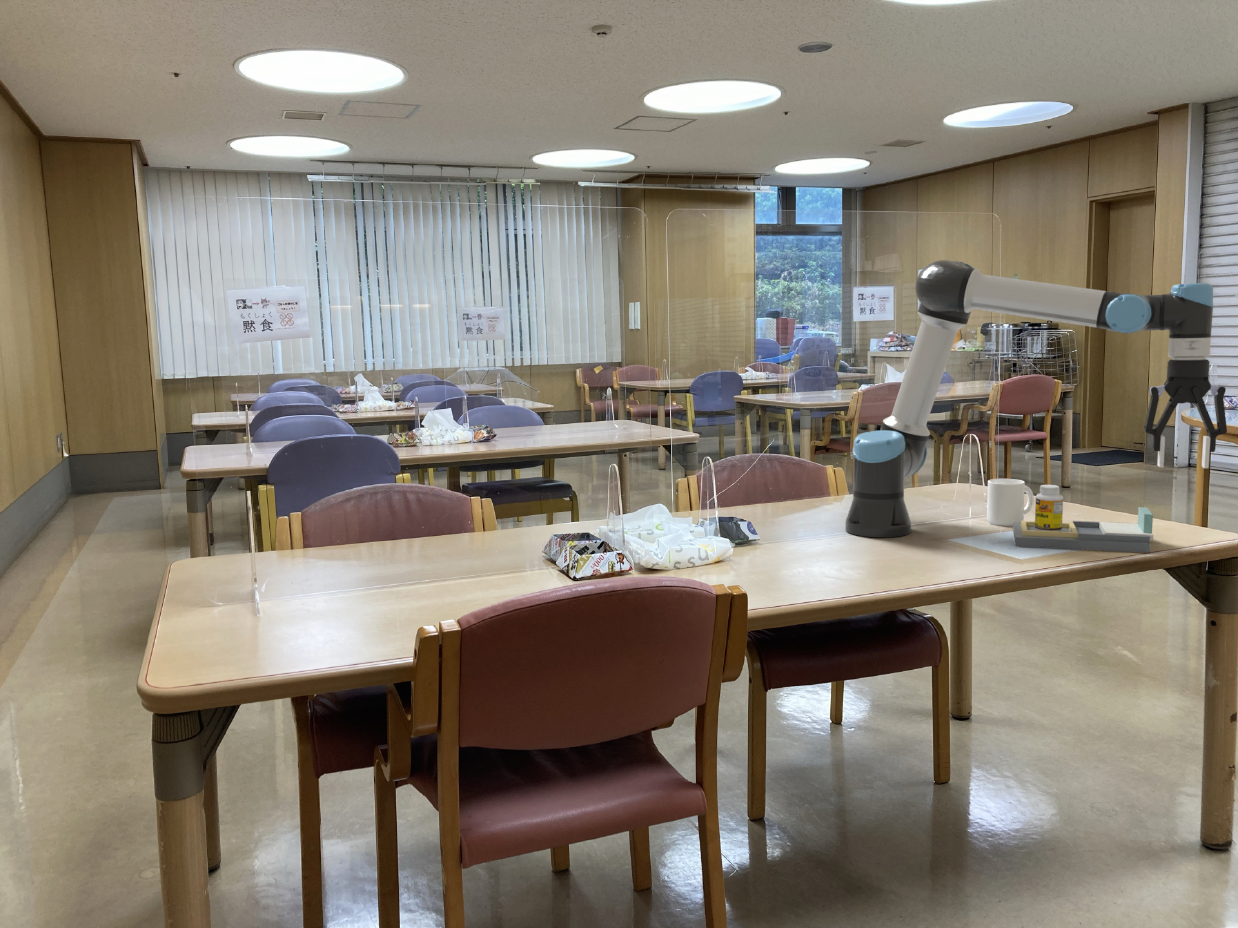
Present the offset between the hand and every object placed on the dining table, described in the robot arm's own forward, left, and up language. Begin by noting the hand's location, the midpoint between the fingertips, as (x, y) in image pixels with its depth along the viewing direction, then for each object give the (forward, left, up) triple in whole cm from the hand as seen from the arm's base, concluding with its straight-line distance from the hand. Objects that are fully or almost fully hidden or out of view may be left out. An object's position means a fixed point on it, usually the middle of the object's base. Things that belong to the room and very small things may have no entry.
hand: (1182, 466), depth 200 cm
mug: (-33, +18, -17) cm, 41 cm away
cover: (-10, 0, -15) cm, 18 cm away
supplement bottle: (-26, 0, -15) cm, 30 cm away
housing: (-21, 0, -17) cm, 27 cm away
